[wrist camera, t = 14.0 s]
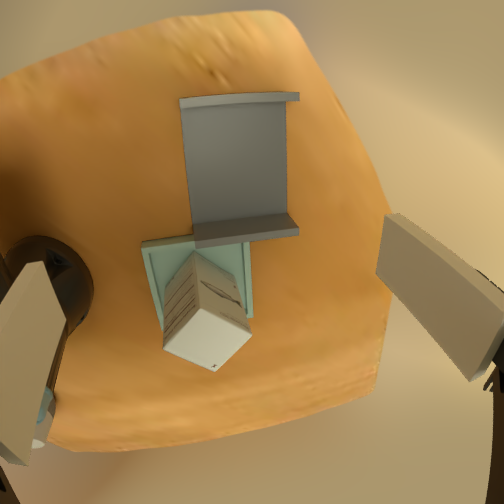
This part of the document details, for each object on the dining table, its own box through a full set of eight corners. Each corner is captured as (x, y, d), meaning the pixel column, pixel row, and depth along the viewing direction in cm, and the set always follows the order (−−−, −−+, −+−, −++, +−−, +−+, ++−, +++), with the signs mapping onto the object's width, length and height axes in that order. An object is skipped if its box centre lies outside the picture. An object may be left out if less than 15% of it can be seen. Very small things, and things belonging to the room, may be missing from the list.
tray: (162, 322, 47) (161, 330, 46) (142, 241, 41) (140, 248, 39) (250, 309, 50) (253, 317, 48) (246, 227, 43) (249, 233, 41)
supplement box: (236, 275, 45) (255, 336, 34) (204, 310, 47) (214, 374, 36) (193, 247, 42) (200, 307, 31) (162, 286, 44) (161, 351, 33)
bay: (193, 230, 42) (195, 249, 37) (179, 98, 33) (179, 99, 29) (286, 218, 44) (299, 235, 39) (284, 91, 35) (299, 92, 31)
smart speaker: (41, 408, 52) (31, 461, 40) (10, 383, 48) (-6, 437, 36) (66, 398, 52) (56, 456, 40) (33, 371, 47) (16, 430, 35)
